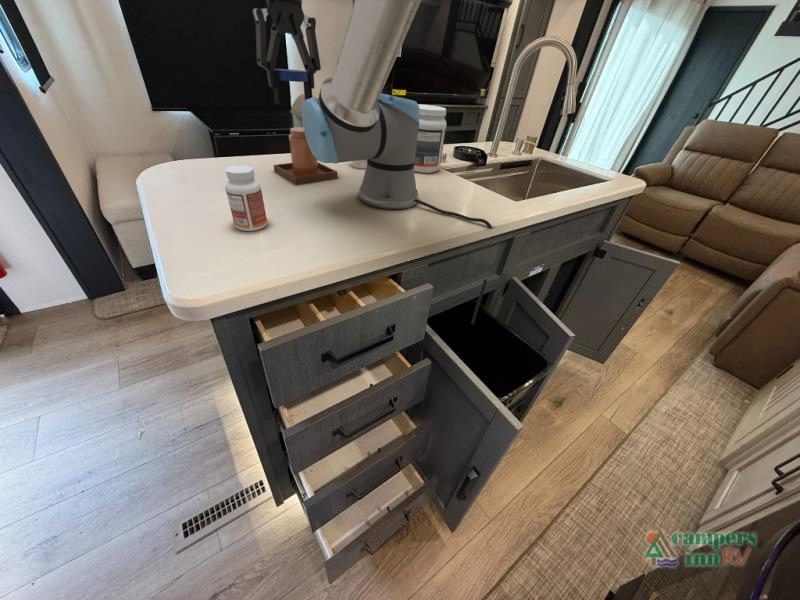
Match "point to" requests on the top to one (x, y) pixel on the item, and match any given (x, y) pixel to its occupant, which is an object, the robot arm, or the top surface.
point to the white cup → (360, 164)
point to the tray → (323, 174)
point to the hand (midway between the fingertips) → (294, 103)
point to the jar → (301, 154)
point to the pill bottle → (245, 198)
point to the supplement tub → (430, 138)
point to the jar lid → (292, 75)
